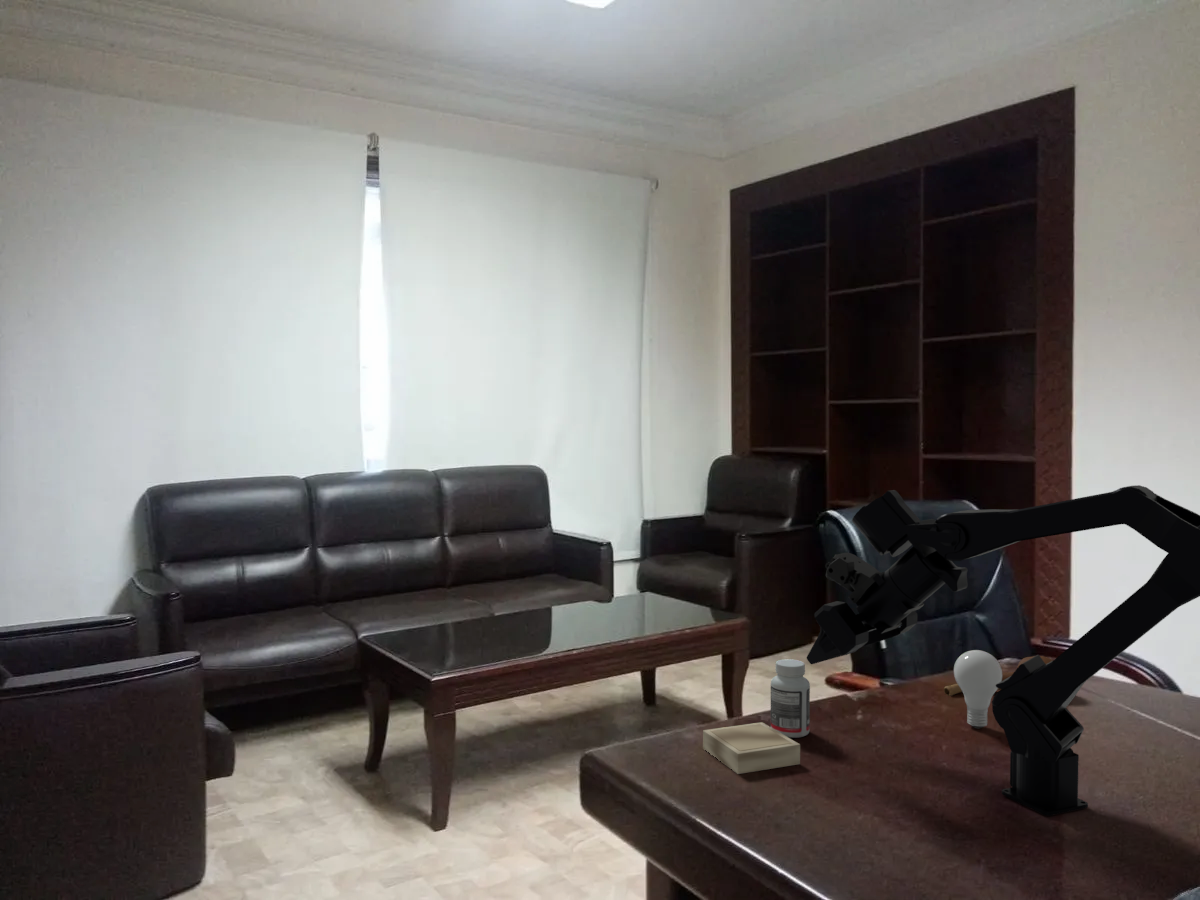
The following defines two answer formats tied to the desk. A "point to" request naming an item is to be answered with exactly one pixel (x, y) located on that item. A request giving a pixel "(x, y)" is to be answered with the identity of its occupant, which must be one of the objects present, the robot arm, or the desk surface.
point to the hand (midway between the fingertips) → (826, 654)
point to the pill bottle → (790, 699)
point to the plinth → (751, 747)
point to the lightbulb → (977, 683)
